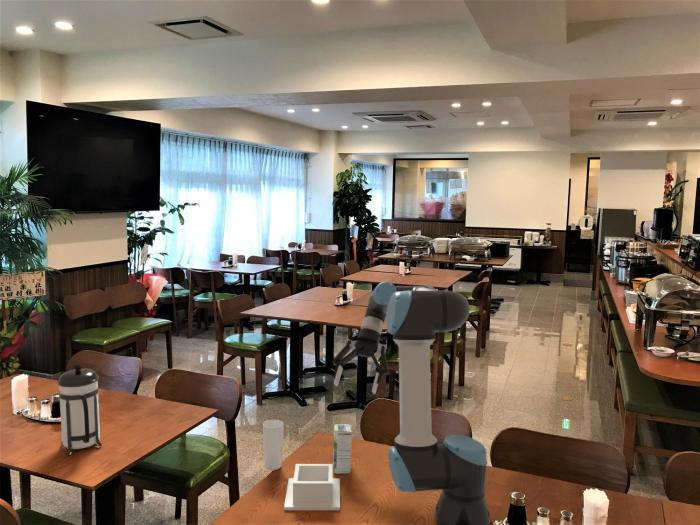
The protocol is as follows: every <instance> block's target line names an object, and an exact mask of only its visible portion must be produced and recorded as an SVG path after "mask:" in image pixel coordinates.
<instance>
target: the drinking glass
mask: <svg viewBox="0 0 700 525" xmlns="http://www.w3.org/2000/svg"><path fill="white" fill-rule="evenodd" d="M284 429H285V428H284V422H283V421H281V420H278V419H270V420H265V421H264V422H263V424H262V441H263V442H262V444H263V451H264V452H263V453H264V466H265V469H266V470H270V471H276V470H279V469H280V468H281V467H282V456H283V445H284V433H285V432H284Z"/></svg>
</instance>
